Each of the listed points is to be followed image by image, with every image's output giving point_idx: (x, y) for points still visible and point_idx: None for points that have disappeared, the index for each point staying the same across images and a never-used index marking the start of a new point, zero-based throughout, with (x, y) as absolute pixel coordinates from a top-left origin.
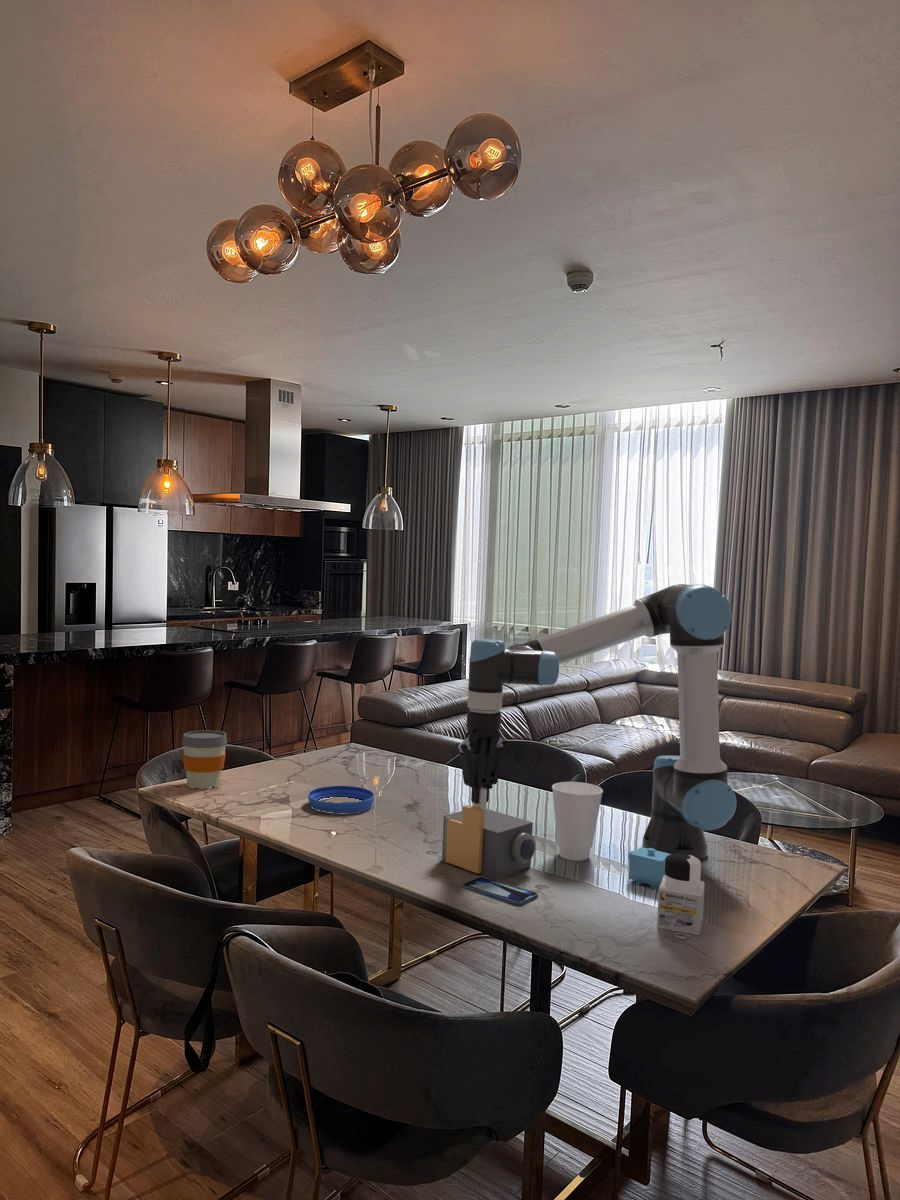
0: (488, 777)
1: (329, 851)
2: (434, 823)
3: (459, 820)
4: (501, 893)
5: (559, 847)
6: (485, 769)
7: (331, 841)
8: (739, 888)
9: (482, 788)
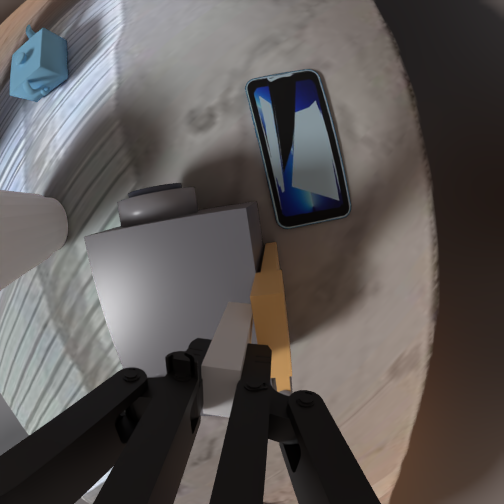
0: (171, 408)
1: (392, 438)
2: None
3: None
4: (313, 122)
5: (57, 241)
6: (172, 460)
7: (359, 462)
8: (15, 40)
9: (218, 382)
